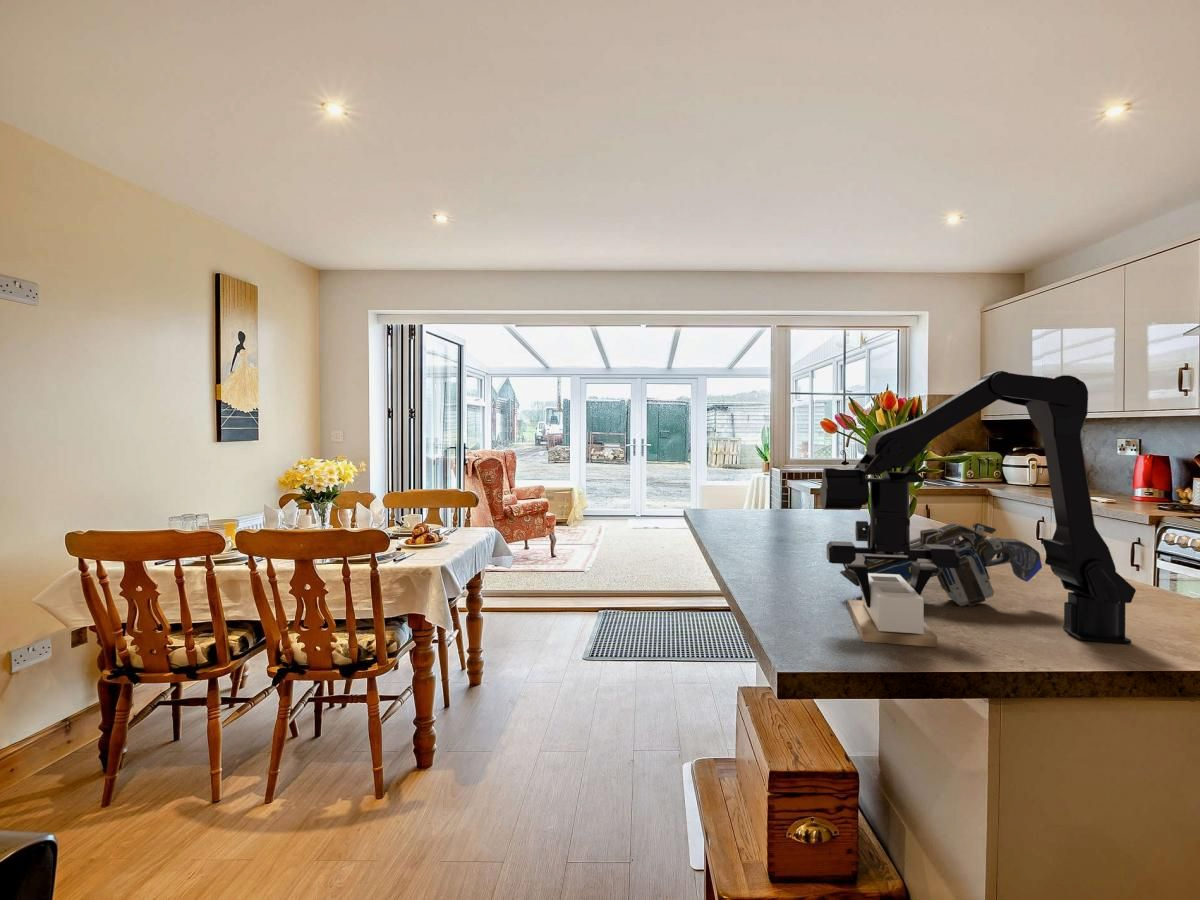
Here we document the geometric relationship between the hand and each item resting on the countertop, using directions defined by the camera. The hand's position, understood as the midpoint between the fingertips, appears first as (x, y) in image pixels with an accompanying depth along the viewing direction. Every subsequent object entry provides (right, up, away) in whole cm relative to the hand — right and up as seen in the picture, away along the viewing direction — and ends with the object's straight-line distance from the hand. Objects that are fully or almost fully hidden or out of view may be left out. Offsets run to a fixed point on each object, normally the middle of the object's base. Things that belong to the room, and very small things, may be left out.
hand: (889, 608), depth 101 cm
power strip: (0, -1, 0) cm, 1 cm away
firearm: (+16, -3, +17) cm, 23 cm away
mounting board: (0, -3, +1) cm, 4 cm away
